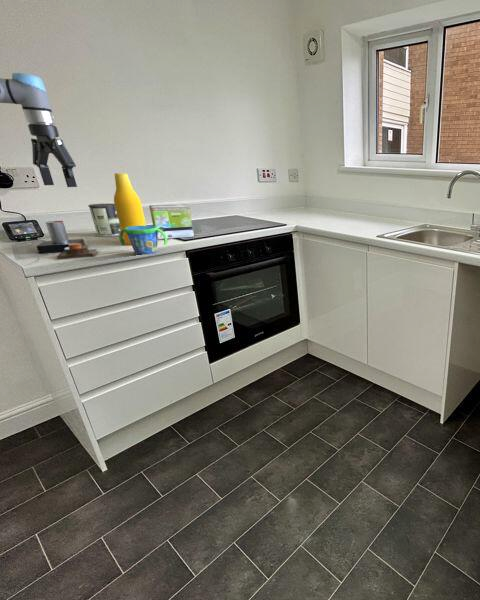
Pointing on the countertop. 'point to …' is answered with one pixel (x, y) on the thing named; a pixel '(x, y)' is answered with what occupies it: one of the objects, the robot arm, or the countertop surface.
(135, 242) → the snack cup
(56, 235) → the dial
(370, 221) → the countertop surface
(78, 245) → the button
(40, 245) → the control panel
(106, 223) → the coffee can
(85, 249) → the button block
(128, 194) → the beer bottle
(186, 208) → the tea box
